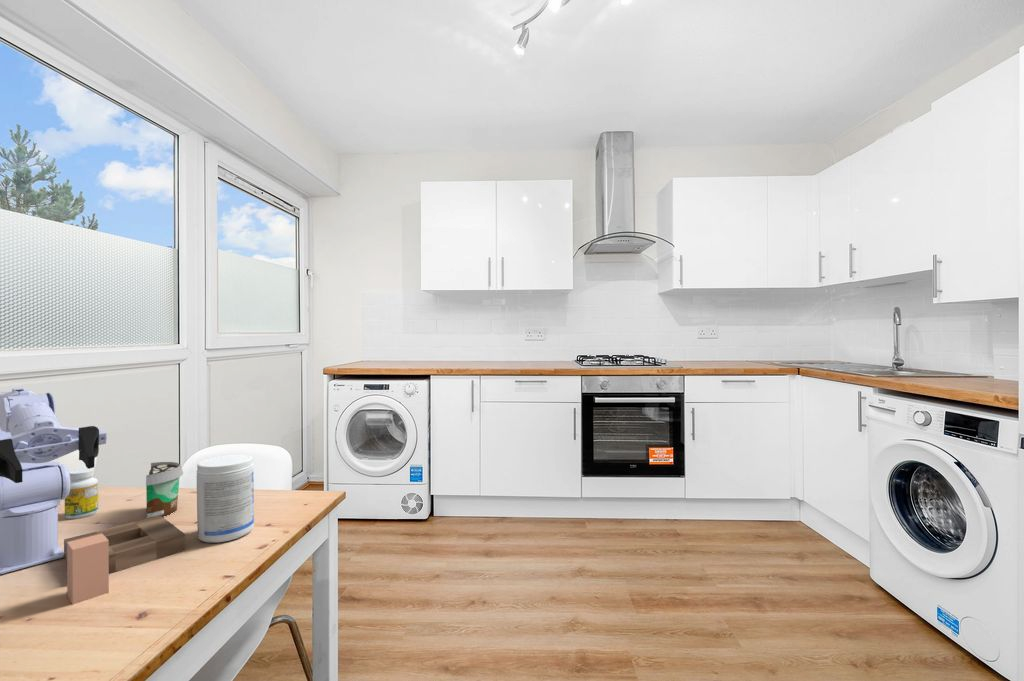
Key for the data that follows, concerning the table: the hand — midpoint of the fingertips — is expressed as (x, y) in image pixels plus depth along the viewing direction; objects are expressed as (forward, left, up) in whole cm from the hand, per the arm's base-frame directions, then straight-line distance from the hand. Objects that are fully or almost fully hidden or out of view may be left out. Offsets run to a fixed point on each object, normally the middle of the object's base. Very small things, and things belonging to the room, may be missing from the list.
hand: (56, 469), depth 68 cm
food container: (-29, +21, -20) cm, 41 cm away
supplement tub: (-6, +25, -20) cm, 32 cm away
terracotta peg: (+1, +3, -19) cm, 20 cm away
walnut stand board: (-11, +10, -19) cm, 24 cm away
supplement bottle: (-41, +9, -20) cm, 46 cm away
